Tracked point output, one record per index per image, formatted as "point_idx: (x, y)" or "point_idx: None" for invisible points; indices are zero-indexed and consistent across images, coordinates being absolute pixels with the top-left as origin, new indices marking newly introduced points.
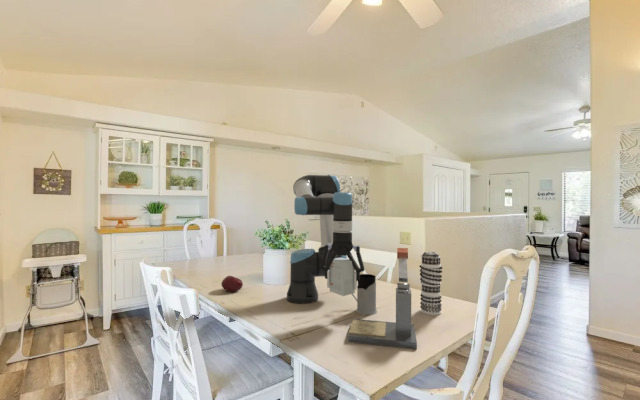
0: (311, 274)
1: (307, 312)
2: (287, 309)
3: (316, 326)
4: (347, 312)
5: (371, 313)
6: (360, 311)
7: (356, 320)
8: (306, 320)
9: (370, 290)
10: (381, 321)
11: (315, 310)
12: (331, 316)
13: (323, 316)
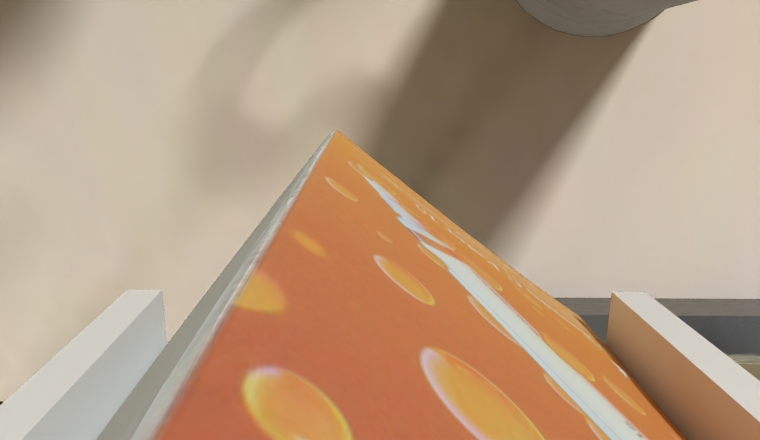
0: None
1: (5, 101)
2: None
3: None
4: (403, 4)
5: (655, 12)
6: (545, 7)
7: None
8: (77, 305)
9: None
10: (746, 319)
11: (62, 20)
12: (267, 158)
13: (194, 175)
